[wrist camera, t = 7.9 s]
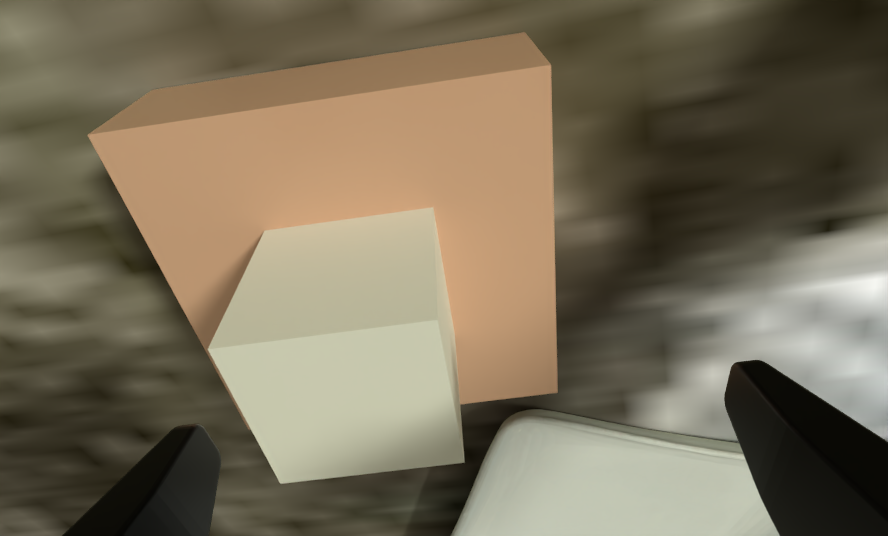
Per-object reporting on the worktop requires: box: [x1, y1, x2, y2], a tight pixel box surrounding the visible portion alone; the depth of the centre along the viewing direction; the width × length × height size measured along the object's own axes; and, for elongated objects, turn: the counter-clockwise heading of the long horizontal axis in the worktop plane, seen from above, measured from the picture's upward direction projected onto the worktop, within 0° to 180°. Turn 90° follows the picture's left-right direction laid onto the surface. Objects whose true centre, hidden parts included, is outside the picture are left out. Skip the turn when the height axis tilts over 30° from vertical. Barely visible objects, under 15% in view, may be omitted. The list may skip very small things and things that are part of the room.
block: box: [208, 207, 465, 484], centre depth 15 cm, size 5×5×5 cm
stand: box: [88, 32, 558, 430], centre depth 18 cm, size 12×12×4 cm
